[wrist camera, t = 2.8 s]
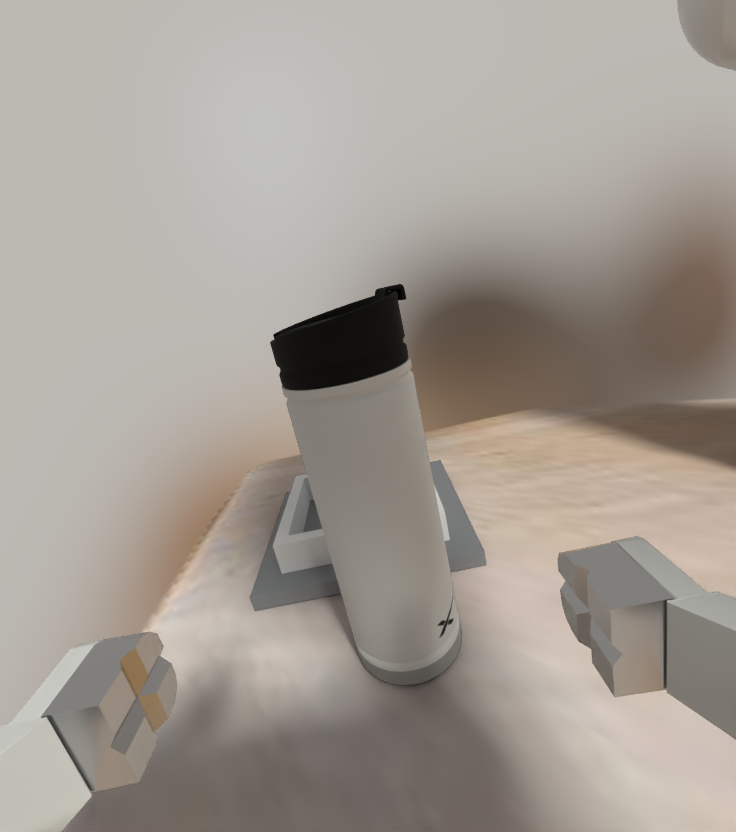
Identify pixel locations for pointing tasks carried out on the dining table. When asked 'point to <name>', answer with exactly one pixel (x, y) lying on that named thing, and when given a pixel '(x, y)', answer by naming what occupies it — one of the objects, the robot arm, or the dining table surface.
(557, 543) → the dining table surface
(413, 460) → the travel mug
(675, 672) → the robot arm
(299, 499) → the grey square tray
